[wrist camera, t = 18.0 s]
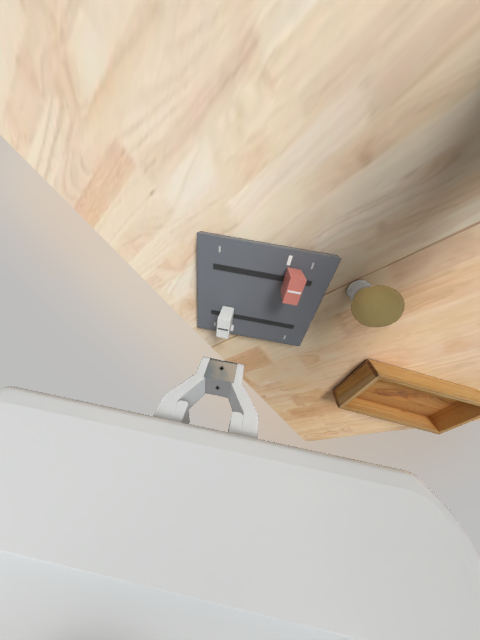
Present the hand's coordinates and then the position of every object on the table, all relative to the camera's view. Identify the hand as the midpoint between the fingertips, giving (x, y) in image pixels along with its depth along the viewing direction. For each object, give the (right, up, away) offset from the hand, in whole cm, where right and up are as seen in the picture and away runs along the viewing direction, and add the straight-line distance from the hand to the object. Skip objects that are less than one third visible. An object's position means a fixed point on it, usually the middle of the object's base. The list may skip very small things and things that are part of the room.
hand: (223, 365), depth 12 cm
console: (+5, +9, +23) cm, 25 cm away
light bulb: (+23, +9, +20) cm, 32 cm away
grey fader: (-2, +4, +24) cm, 24 cm away
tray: (+45, -16, +34) cm, 59 cm away
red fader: (+10, +10, +18) cm, 23 cm away
